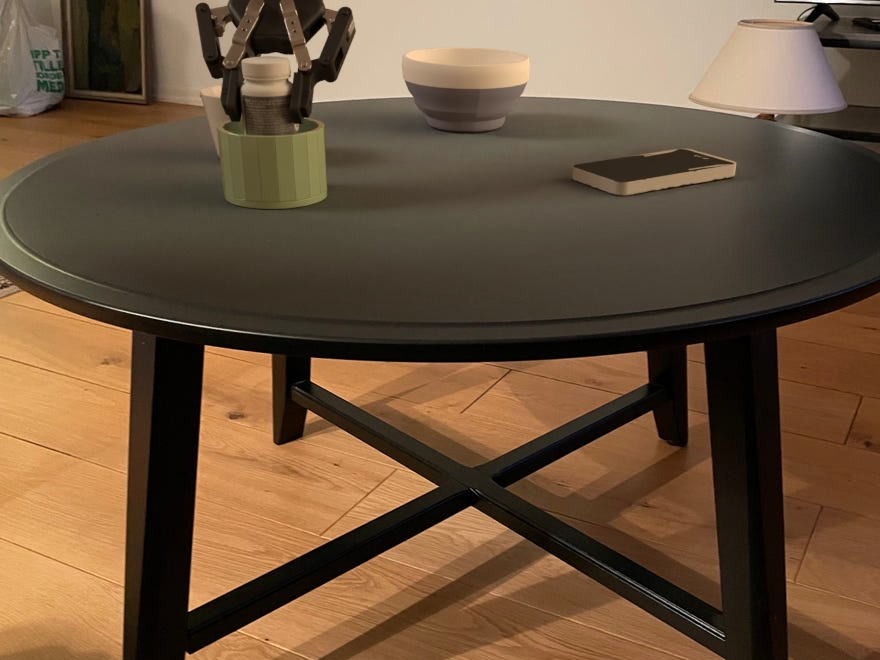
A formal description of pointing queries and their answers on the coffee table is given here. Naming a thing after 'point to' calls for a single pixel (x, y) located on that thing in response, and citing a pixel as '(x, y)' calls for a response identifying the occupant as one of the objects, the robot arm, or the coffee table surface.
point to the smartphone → (653, 171)
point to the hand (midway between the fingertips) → (265, 116)
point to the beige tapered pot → (214, 110)
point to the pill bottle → (267, 97)
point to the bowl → (465, 86)
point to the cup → (273, 166)
